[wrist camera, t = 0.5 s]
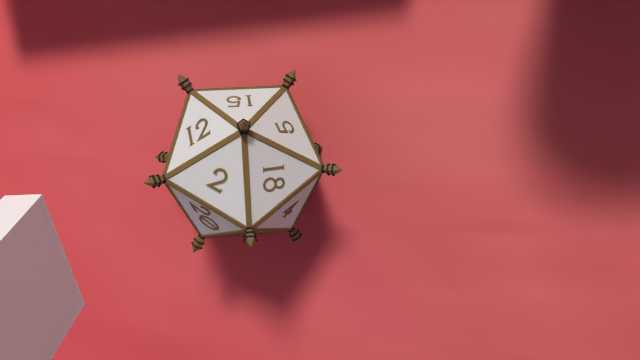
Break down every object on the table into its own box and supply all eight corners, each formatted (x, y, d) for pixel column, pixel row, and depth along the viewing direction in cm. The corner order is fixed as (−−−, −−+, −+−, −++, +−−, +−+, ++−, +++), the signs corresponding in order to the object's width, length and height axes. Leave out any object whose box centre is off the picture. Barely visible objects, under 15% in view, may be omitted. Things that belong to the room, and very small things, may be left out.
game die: (311, 153, 35) (341, 296, 28) (163, 162, 34) (159, 315, 27) (321, 19, 29) (363, 163, 22) (140, 24, 28) (127, 179, 21)
